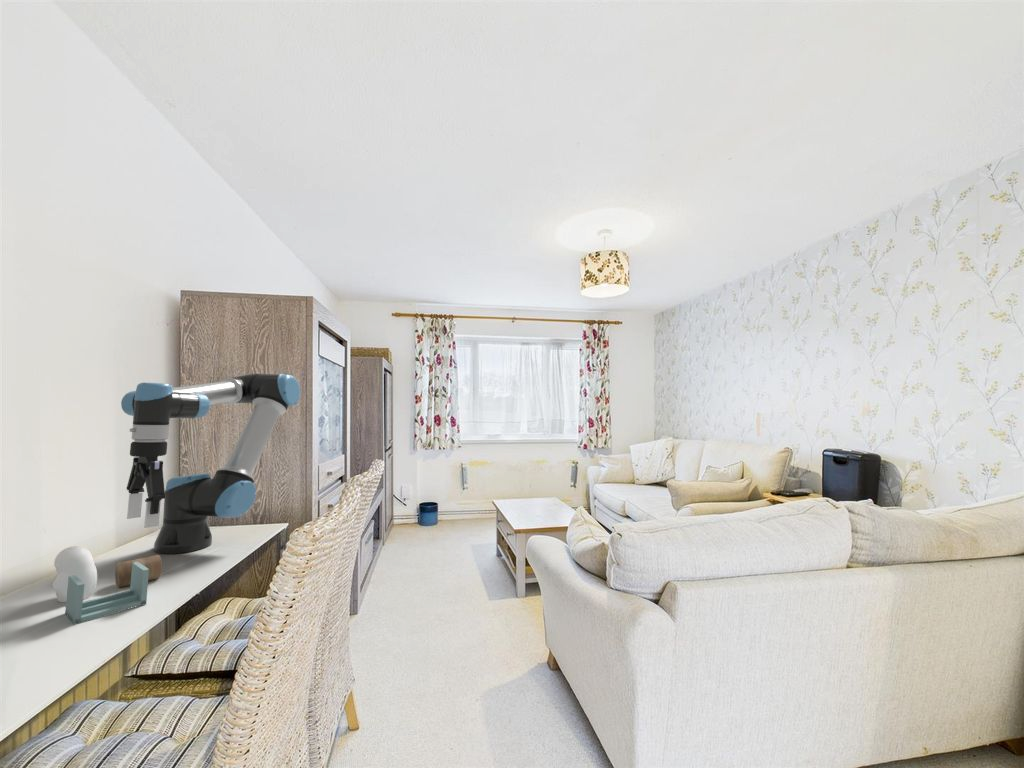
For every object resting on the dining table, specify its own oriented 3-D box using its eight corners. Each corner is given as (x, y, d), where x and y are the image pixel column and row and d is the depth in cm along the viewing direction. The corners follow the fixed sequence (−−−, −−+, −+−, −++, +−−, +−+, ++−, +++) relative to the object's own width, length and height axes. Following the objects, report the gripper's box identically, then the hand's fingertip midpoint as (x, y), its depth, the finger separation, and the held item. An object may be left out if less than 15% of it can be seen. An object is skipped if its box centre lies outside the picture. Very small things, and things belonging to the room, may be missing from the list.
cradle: (134, 595, 106) (137, 561, 106) (146, 604, 101) (149, 569, 102) (65, 613, 96) (68, 575, 96) (74, 624, 91) (77, 585, 92)
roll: (153, 575, 118) (154, 552, 119) (161, 580, 115) (162, 557, 115) (114, 584, 112) (116, 560, 112) (121, 590, 108) (123, 565, 109)
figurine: (53, 596, 104) (58, 545, 104) (97, 588, 108) (101, 539, 109) (48, 607, 98) (53, 553, 99) (94, 598, 103) (99, 547, 104)
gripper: (116, 438, 119) (109, 516, 118) (148, 444, 105) (140, 533, 104) (150, 437, 126) (144, 512, 124) (185, 443, 111) (177, 527, 110)
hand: (142, 522), depth 114 cm, fingers open, 13 cm apart
